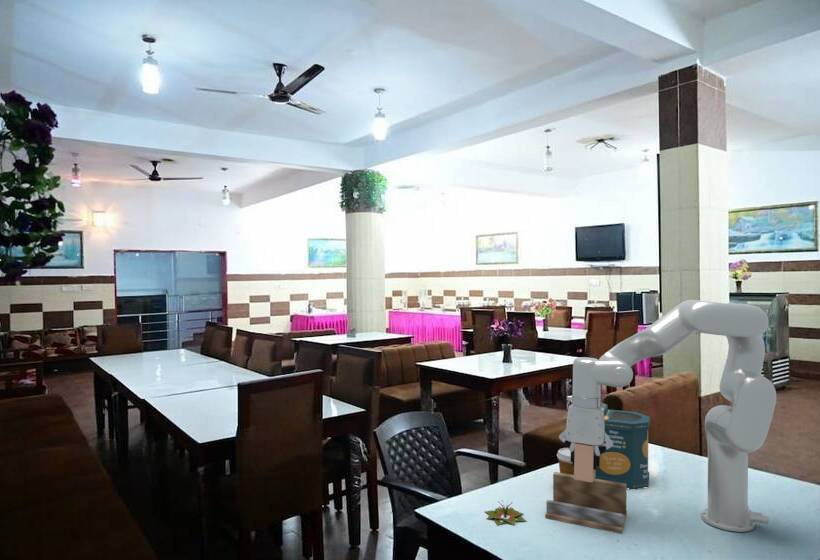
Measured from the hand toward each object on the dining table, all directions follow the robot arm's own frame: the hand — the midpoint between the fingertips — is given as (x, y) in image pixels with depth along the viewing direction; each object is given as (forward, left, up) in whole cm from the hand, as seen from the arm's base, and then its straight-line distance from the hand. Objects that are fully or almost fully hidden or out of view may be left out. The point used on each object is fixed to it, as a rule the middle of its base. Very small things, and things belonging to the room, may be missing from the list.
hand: (585, 465), depth 152 cm
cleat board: (0, 0, -14) cm, 14 cm away
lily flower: (+20, +11, -15) cm, 27 cm away
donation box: (-6, -34, -14) cm, 38 cm away
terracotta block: (0, 0, -3) cm, 3 cm away
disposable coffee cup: (+7, -17, -14) cm, 23 cm away
